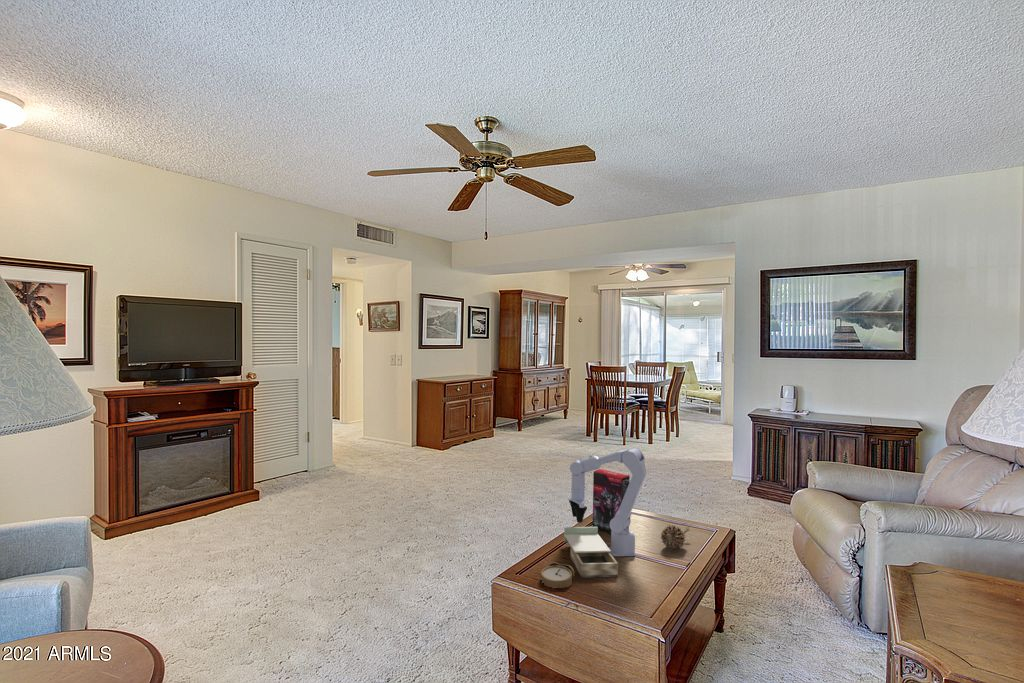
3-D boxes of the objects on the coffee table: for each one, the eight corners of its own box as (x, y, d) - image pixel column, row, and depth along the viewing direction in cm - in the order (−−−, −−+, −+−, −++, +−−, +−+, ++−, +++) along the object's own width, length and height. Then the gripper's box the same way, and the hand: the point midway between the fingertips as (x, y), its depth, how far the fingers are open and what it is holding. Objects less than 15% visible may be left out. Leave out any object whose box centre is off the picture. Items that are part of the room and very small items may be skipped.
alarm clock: (536, 577, 182) (550, 555, 196) (536, 590, 183) (551, 567, 197) (565, 584, 178) (578, 561, 191) (566, 597, 178) (579, 573, 192)
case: (603, 557, 208) (604, 544, 209) (617, 576, 191) (618, 563, 191) (570, 557, 207) (570, 545, 207) (581, 577, 189) (581, 564, 189)
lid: (596, 540, 220) (597, 526, 220) (610, 559, 200) (610, 543, 200) (564, 541, 218) (564, 527, 218) (574, 560, 199) (575, 544, 199)
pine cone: (677, 556, 211) (677, 532, 211) (655, 550, 217) (655, 526, 217) (696, 541, 228) (696, 519, 228) (675, 536, 234) (676, 514, 234)
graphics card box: (591, 527, 243) (592, 470, 243) (600, 524, 248) (601, 468, 248) (621, 538, 230) (622, 477, 231) (629, 534, 235) (630, 475, 236)
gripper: (565, 483, 230) (564, 514, 230) (573, 493, 216) (572, 525, 216) (580, 483, 231) (580, 513, 231) (589, 492, 217) (588, 524, 216)
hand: (577, 519), depth 223 cm, fingers open, 7 cm apart
